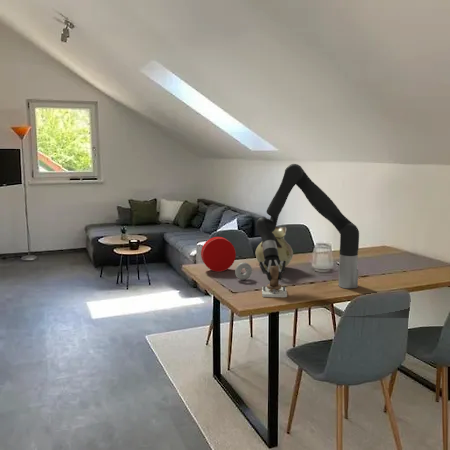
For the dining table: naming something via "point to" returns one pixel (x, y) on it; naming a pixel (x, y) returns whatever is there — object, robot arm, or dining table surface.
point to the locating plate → (274, 292)
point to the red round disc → (218, 254)
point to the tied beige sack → (282, 247)
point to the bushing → (274, 278)
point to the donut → (247, 273)
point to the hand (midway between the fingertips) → (275, 279)
